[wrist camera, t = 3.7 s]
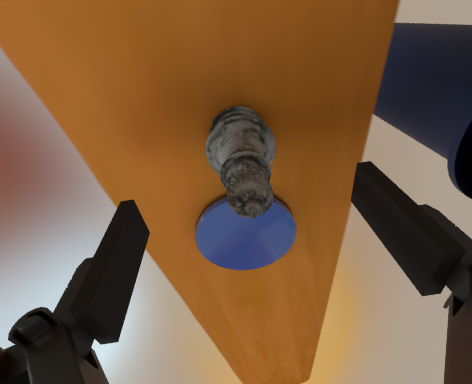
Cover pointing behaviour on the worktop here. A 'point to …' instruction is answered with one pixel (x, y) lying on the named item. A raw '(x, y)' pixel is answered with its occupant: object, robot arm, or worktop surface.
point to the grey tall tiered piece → (243, 159)
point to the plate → (244, 236)
